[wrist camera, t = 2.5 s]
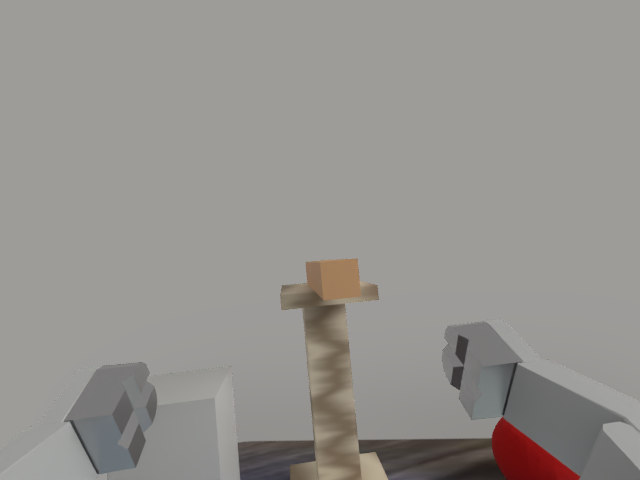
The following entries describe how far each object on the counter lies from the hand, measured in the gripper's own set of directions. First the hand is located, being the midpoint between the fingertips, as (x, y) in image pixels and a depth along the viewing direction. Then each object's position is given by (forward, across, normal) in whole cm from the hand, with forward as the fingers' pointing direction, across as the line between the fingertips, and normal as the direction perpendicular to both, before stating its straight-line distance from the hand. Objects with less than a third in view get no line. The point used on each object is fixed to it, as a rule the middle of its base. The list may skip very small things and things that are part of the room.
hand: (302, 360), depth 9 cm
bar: (+24, +3, -13) cm, 27 cm away
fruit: (+14, +26, -38) cm, 48 cm away
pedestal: (+14, -14, -37) cm, 42 cm away
